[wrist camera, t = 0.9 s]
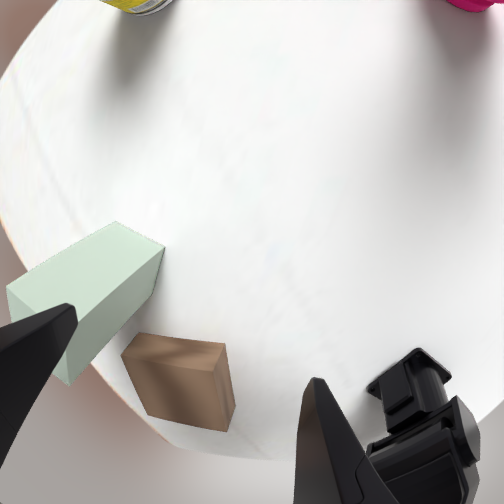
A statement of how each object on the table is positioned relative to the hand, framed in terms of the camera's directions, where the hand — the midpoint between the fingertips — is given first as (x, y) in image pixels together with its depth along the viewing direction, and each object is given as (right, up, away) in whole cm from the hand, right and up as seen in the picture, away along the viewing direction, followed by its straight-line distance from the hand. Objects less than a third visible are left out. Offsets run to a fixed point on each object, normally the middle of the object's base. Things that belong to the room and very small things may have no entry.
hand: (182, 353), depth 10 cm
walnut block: (-4, -9, +19) cm, 21 cm away
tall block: (-8, +3, +14) cm, 17 cm away
